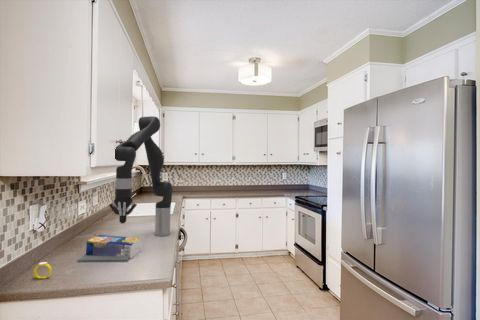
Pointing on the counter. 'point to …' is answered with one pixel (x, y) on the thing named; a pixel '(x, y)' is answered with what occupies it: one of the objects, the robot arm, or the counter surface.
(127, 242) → the beverage box
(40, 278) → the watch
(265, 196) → the counter surface
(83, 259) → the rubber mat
